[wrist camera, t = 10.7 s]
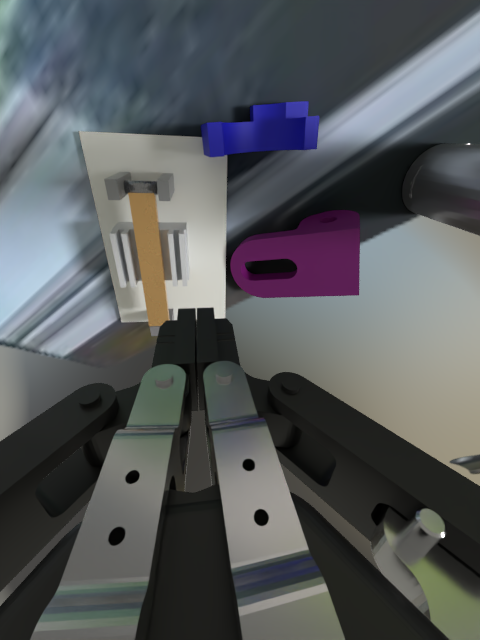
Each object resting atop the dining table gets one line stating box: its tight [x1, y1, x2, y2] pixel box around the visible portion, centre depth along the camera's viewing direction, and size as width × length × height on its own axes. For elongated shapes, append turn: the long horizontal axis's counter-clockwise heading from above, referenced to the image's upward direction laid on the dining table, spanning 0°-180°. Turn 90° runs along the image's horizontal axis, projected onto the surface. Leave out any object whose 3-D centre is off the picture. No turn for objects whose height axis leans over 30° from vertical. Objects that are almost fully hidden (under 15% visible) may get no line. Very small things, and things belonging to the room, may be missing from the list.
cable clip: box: [201, 101, 319, 157], centre depth 32 cm, size 12×4×6 cm, turn 93°
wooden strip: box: [124, 180, 170, 326], centre depth 36 cm, size 19×3×1 cm, turn 178°
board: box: [79, 131, 227, 336], centre depth 37 cm, size 17×26×8 cm, turn 178°
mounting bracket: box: [230, 210, 360, 298], centre depth 43 cm, size 9×8×18 cm
